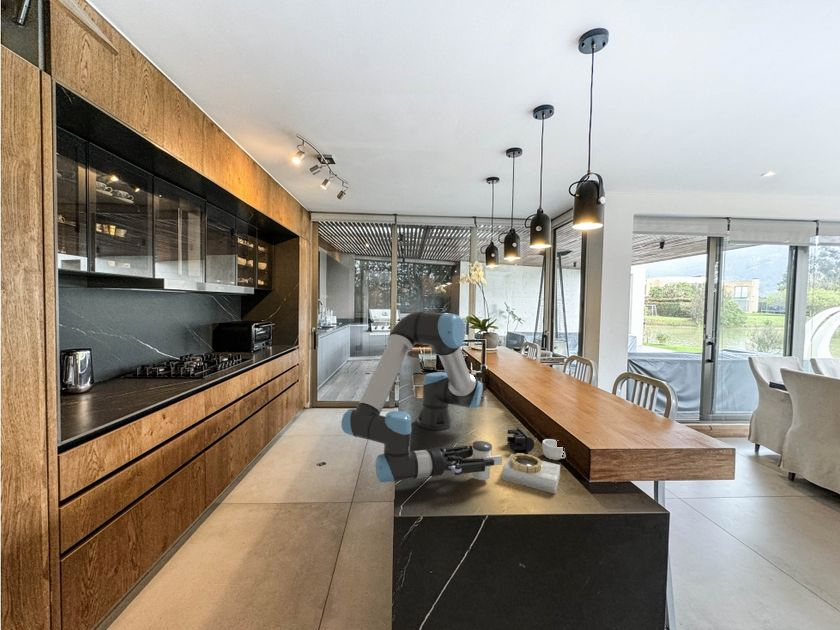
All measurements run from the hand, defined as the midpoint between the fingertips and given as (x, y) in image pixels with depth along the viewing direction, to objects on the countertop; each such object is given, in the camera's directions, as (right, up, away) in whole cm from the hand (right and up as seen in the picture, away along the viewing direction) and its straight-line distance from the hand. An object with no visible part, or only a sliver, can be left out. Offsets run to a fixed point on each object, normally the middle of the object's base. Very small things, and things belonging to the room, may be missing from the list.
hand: (496, 455), depth 116 cm
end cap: (+14, -7, +25) cm, 30 cm away
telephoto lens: (-5, -6, -1) cm, 8 cm away
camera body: (+12, -8, +2) cm, 14 cm away
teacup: (+25, -8, +17) cm, 31 cm away
